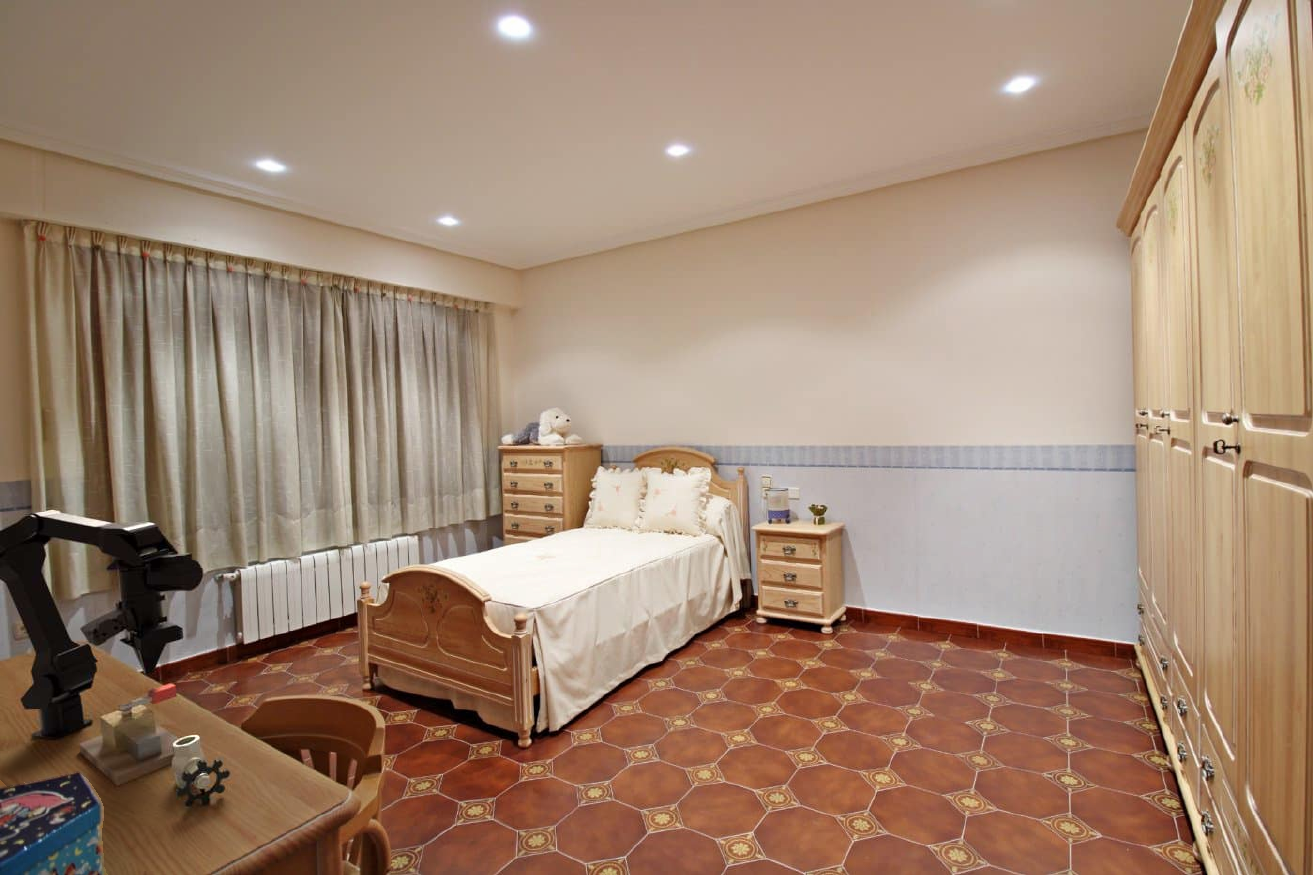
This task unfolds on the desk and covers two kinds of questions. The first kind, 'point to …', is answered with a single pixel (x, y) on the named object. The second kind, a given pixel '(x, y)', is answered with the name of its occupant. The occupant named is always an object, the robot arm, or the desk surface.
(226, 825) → the desk surface
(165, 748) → the valve plank
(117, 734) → the beige stepped block
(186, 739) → the valve
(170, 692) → the lever
